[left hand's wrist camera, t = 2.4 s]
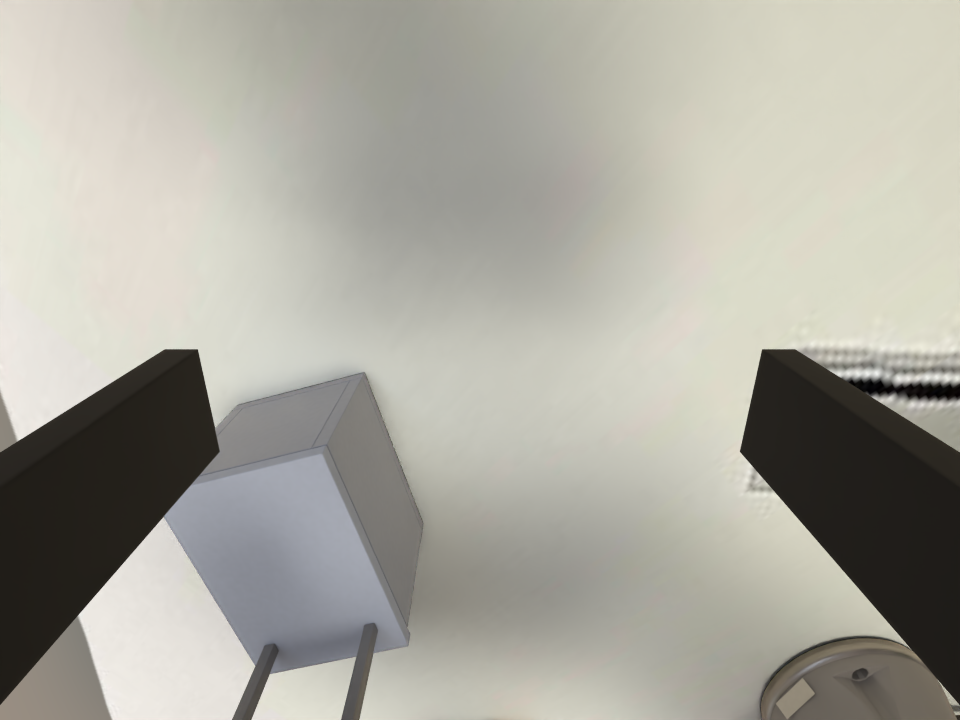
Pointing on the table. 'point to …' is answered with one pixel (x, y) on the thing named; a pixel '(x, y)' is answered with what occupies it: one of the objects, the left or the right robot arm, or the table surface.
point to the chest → (337, 463)
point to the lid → (290, 569)
